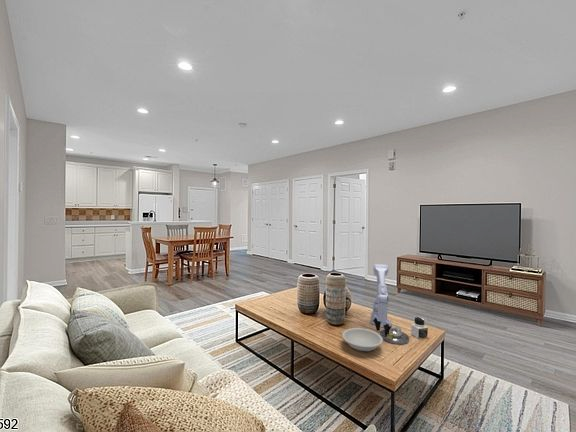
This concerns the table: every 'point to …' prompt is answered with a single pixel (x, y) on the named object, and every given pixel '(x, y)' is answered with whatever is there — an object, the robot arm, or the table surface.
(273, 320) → the table surface
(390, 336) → the ring nut
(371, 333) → the soup bowl
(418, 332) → the medicine bottle
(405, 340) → the flange plate
